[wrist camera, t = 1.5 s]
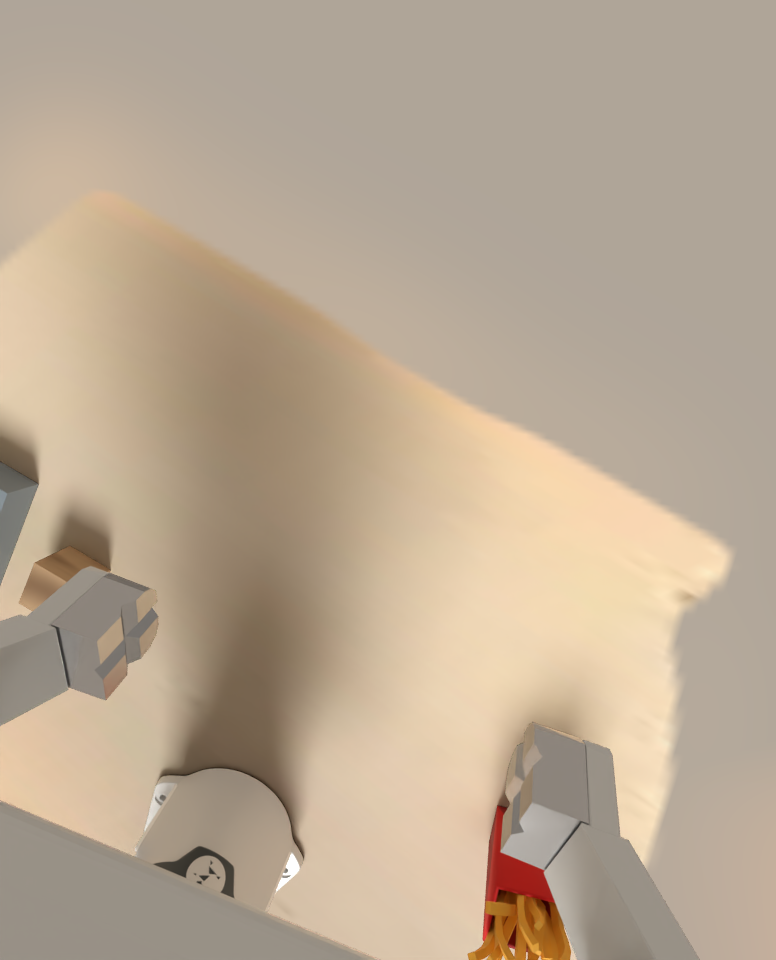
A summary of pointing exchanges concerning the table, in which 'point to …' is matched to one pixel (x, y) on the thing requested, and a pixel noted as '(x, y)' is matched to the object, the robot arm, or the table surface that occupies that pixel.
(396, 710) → the table surface
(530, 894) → the french fries
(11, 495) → the slate plinth
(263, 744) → the table surface
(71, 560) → the walnut cube
